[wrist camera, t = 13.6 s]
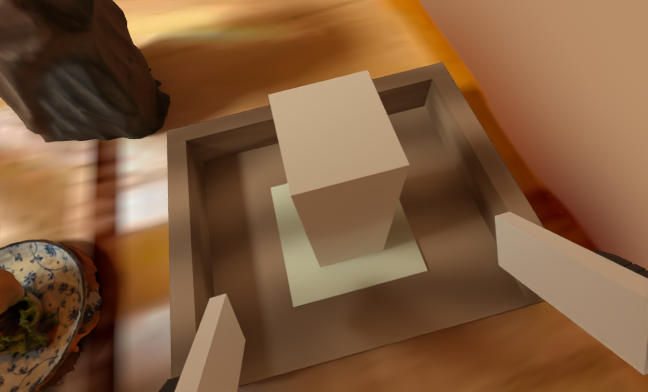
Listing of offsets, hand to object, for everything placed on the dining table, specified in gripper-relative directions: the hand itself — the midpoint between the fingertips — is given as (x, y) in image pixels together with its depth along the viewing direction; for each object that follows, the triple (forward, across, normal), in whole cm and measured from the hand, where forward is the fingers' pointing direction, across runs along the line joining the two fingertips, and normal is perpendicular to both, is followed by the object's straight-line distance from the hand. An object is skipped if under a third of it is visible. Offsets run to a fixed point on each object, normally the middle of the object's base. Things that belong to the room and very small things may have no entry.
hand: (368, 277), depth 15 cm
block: (+8, 0, 0) cm, 8 cm away
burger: (+9, -24, -2) cm, 26 cm away
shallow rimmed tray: (+9, 0, -1) cm, 9 cm away
